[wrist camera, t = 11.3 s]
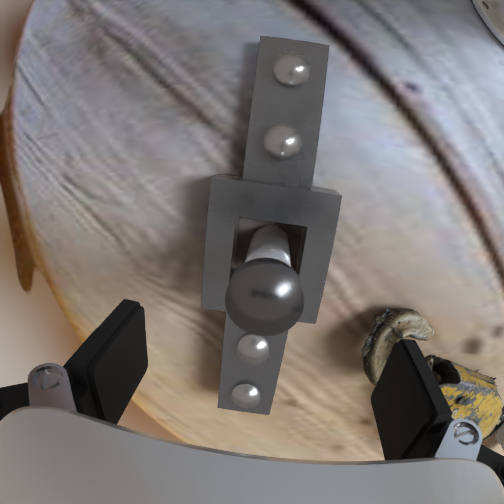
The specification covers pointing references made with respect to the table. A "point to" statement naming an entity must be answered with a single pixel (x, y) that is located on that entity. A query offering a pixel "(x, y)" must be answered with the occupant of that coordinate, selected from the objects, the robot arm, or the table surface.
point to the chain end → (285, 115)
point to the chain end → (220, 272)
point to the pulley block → (436, 370)
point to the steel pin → (265, 286)
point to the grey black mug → (500, 436)
